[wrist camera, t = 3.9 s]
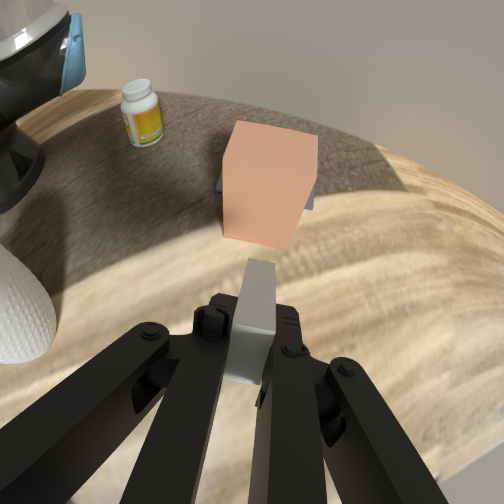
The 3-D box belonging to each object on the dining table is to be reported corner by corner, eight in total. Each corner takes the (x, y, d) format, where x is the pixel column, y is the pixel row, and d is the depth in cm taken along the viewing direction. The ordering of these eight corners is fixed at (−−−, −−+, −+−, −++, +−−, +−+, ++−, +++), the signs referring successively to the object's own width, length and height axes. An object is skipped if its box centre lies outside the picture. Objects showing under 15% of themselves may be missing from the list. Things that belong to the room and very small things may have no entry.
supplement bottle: (124, 146, 35) (108, 95, 27) (141, 124, 38) (130, 76, 29) (153, 150, 35) (141, 96, 26) (170, 128, 37) (162, 76, 29)
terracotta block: (286, 249, 30) (316, 177, 19) (223, 237, 30) (222, 158, 19) (291, 212, 32) (317, 136, 21) (233, 201, 32) (236, 120, 21)
